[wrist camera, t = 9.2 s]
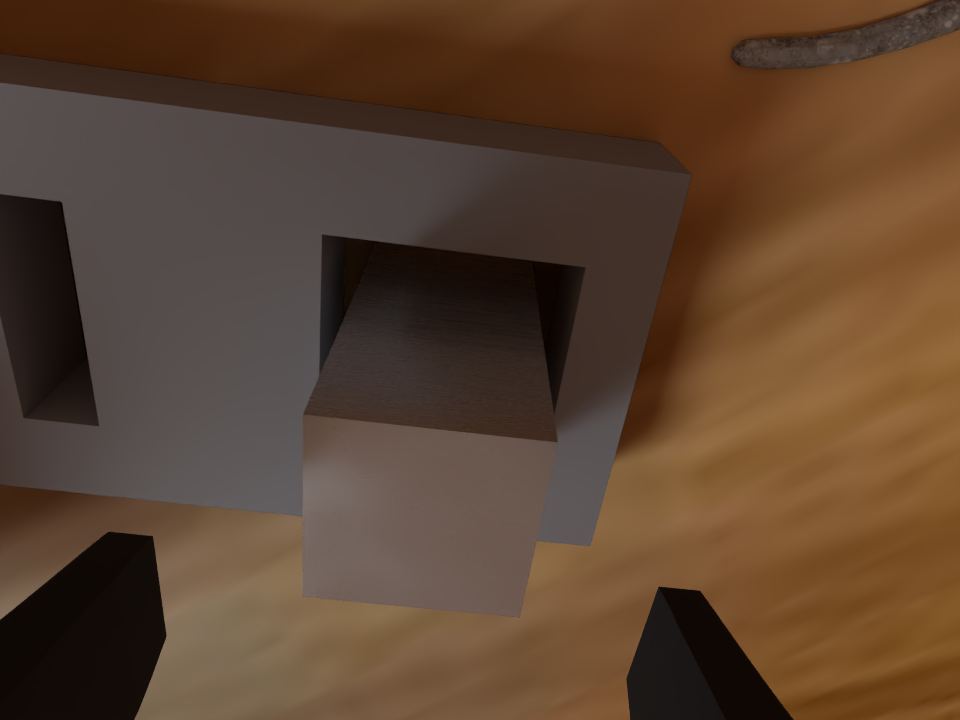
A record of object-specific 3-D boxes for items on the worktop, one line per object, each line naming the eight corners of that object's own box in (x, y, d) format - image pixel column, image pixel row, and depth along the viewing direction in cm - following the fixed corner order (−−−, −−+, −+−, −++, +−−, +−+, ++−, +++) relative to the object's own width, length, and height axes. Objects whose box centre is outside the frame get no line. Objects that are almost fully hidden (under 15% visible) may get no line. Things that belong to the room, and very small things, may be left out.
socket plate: (-29, 409, 20) (-106, 473, 18) (-129, 36, 16) (-256, 48, 13) (577, 475, 21) (590, 546, 19) (659, 143, 16) (692, 174, 14)
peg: (369, 375, 20) (302, 596, 13) (376, 241, 18) (302, 414, 11) (509, 391, 20) (519, 617, 13) (531, 260, 18) (558, 442, 11)
